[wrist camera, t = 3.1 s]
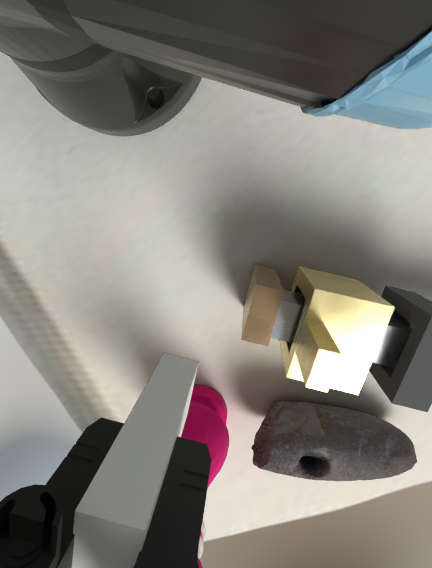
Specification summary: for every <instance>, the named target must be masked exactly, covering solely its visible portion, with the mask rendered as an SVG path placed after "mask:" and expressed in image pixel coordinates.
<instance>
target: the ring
mask: <svg viewBox="0 0 432 568" xmlns="http://www.w3.org/2000/svg"><path fill="white" fill-rule="evenodd" d="M381 297H382V298H383V299H385V300H386V301H387V302H389V303H390V304H391V305H393V306H394V307H395V308H394V311H393V313H392V315H396V316H400V317H404V318H405V319H407V320H408V321H409V322H411V323H412V324H413V325H414V327H413V329H412V331H411V334H410V336H409V338H408V340H407V343H406V345H405V347H404V349H403V352H402V354H401V356H400V358H399V361H398V363H397V365H396V367H395V368H394V367H390V366H386V365H382V364H377V363H373V362H372V363H371V366H370V368H369V371H370V372H371V374H372V375H373V377H374V378H375V380H376V381H377V383H378V384H379V385H380V387H381V388H382V390H383V391H384V393H385V394H386V396H387V397H388V398H389V400H390V401H391V403H393V404H397V405H401V406H405V407H409V408H413V409H417V410H421V411H425V412H428V410H429V408H430V406H431V404H432V302H431V301H429V300H427V299H425V298H424V297H422V296H420V295H418V294H417V293H415V292H411V291H406V290H402V289H397V288H393V287H389V286H385V288H384V291H383V294H382V296H381Z"/></svg>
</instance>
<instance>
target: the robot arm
mask: <svg viewBox="0 0 432 568" xmlns="http://www.w3.org/2000/svg"><path fill="white" fill-rule="evenodd" d="M0 51H1V52H3V53H4V54H6V55H8V56H10V57H11V59H12V60H13V61H14V62H15V63H16V65H17V66H18V67H19V68H20V69H21V71H22V72H23V73H24V74H25V75H26V76H27V77H28V79H29V80H30V81H31V82H32V83H33V84H34V85H35V87H36V88H37V90H38V91H39V92H40V93H41V95H42V96H43V97H44V98H45V99H46V100H47V101H48V102H49V103H50V104H51V105H52V106H53V107H55V108H56V109H57V110H58V111H60V112H61V113H62V114H64V115H65V116H67V117H68V118H70V119H71V120H73V121H75V122H77V123H79V124H81V125H83V126H86V127H88V128H90V129H92V130H95V131H97V132H100V133H104V134H108V135H114V136H133V135H139V134H143V133H146V132H149V131H152V130H154V129H156V128H158V127H160V126H162V125H163V124H165V123H166V122H168V121H169V120H171V119H172V118H173V117H174V116H175V115H176V114H178V113H179V112H180V111H181V109H182V108H183V107H184V106H185V105H186V104H187V102H188V101H189V100H190V98H191V97H192V95H193V94H194V92H195V90H196V89H197V87H198V85H199V83H200V80H201V78H202V77H204V78H208V79H211V80H214V81H218V82H221V83H224V84H227V85H231V86H234V87H237V88H241V89H244V90H247V91H250V92H254V93H257V94H260V95H264V96H267V97H270V98H274V99H277V100H280V101H283V102H287V103H290V104H293V105H297V106H300V107H301V109H302V111H303V113H306V114H309V115H312V116H329V115H332V114H336V115H341V116H345V117H349V118H353V119H358V120H362V121H366V122H371V123H375V124H379V125H383V126H388V127H392V128H398V129H422V128H429V127H432V0H0ZM198 363H199V361H195V360H191V359H187V358H183V357H179V356H174V355H170V354H166V353H164V354H163V356H162V358H161V359H160V361H159V363H158V365H157V366H156V368H155V370H154V372H153V374H152V375H151V377H150V379H149V381H148V382H147V384H146V386H145V388H144V390H143V391H142V393H141V395H140V397H139V398H138V400H137V402H136V404H135V405H134V407H133V409H132V411H131V413H130V414H129V416H128V418H127V420H126V421H125V423H120V422H116V421H112V420H108V419H105V418H100V419H98V420H97V421H96V422H94V423H93V424H91V425H90V426H88V427H87V428H86V429H85V431H84V432H83V434H82V435H81V436H80V438H79V439H78V441H77V442H76V444H75V445H74V446H73V447H72V449H71V450H70V452H69V453H68V455H67V457H66V458H65V459H64V460H63V461H62V463H61V464H60V466H59V467H58V468H57V470H56V471H55V473H54V474H53V475H52V477H51V478H50V479H49V481H48V482H47V484H46V485H32V486H28V487H24V488H20V489H19V490H17V491H15V492H13V493H11V494H10V495H8V496H6V497H5V498H4V499H3V500H2V501H1V502H0V568H199V566H198V547H199V541H200V534H201V527H202V520H203V514H204V507H205V500H206V492H207V487H208V480H209V473H210V466H211V460H212V459H211V456H210V452H209V449H208V445H207V444H205V443H201V442H197V441H193V440H189V439H186V438H182V437H181V435H182V431H183V428H184V424H185V421H186V418H187V414H188V409H189V405H190V400H191V396H192V391H193V386H194V382H195V377H196V373H197V368H198Z"/></svg>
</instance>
